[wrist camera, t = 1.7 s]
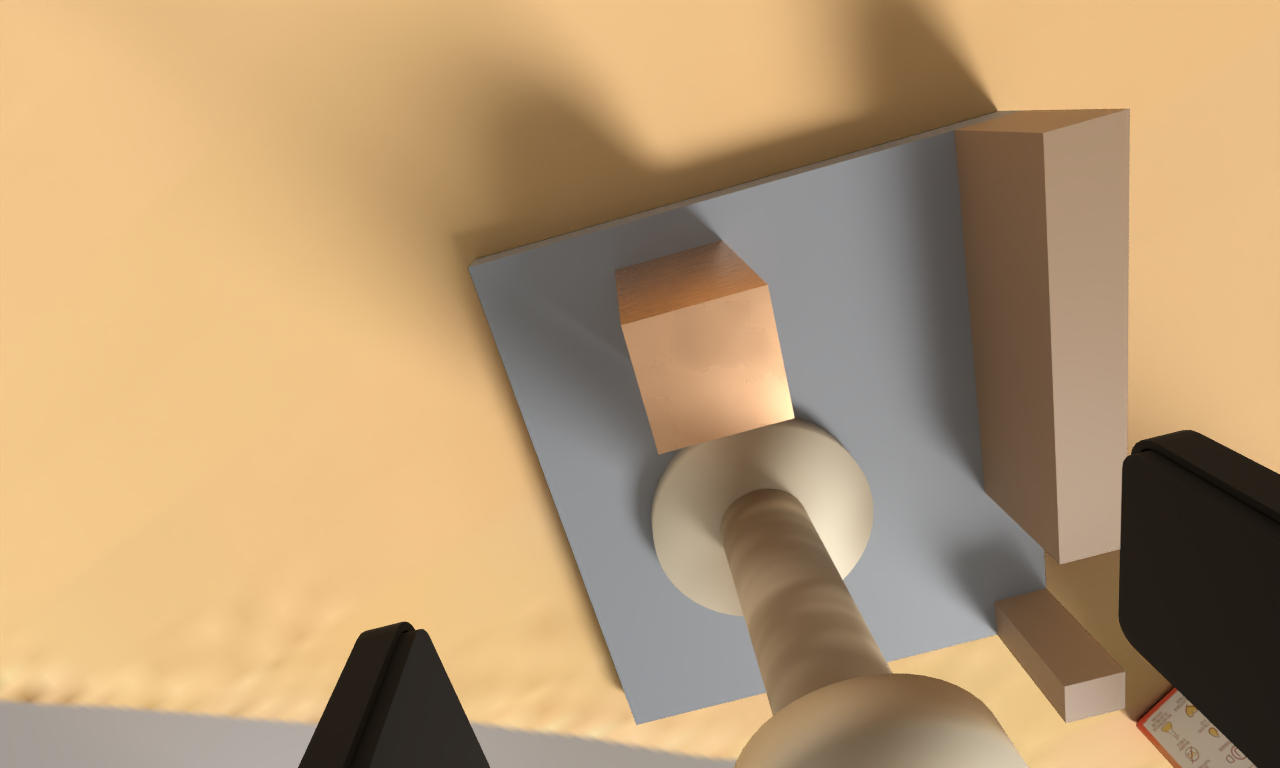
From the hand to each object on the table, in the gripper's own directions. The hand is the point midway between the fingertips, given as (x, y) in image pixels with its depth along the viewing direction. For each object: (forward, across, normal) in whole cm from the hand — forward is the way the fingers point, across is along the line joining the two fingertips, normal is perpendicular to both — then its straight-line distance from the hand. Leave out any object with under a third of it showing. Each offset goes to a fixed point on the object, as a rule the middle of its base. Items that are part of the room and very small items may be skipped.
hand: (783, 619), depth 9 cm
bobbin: (+17, -2, +10) cm, 20 cm away
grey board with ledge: (+19, -4, +8) cm, 21 cm away
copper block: (+17, -1, 0) cm, 17 cm away
